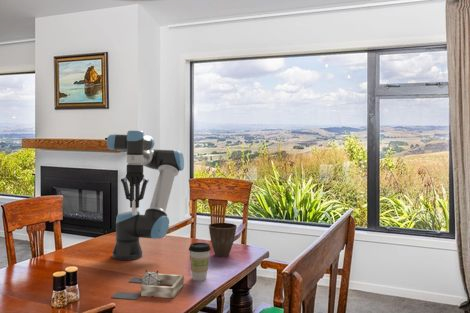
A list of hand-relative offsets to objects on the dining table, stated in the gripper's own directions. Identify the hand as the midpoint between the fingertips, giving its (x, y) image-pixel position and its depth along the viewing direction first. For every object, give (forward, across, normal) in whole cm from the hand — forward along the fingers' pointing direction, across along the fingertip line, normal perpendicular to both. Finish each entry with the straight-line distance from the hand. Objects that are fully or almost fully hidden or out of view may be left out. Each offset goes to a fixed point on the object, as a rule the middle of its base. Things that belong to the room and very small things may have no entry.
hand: (134, 214), depth 194 cm
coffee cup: (+27, +32, -4) cm, 42 cm away
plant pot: (+27, +36, +35) cm, 57 cm away
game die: (+27, +16, -23) cm, 38 cm away
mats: (+26, +8, -21) cm, 35 cm away
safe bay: (+26, +20, -21) cm, 39 cm away
